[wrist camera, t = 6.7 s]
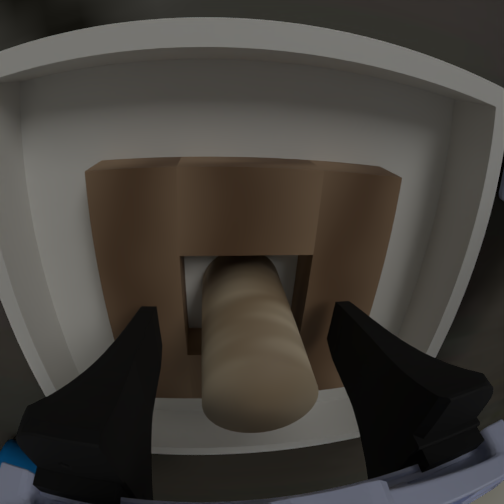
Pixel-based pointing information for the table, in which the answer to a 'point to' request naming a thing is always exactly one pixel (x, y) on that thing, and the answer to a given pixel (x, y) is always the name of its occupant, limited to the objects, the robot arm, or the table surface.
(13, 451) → the alarm clock
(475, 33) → the table surface
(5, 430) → the table surface
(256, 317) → the peg
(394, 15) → the table surface
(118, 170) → the bore plate
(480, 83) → the tray
